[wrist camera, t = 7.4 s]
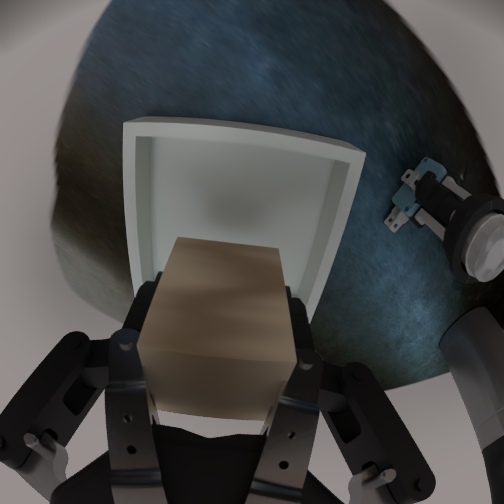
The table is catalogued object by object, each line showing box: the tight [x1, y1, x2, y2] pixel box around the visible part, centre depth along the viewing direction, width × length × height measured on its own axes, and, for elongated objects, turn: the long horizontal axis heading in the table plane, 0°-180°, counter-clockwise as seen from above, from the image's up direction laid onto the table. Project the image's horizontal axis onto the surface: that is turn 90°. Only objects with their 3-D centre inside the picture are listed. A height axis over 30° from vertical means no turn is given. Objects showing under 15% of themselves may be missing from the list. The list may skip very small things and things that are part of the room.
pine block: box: [137, 237, 297, 421], centre depth 11 cm, size 4×4×6 cm
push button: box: [384, 157, 504, 284], centre depth 14 cm, size 7×5×10 cm
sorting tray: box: [123, 116, 366, 324], centre depth 18 cm, size 14×14×4 cm
